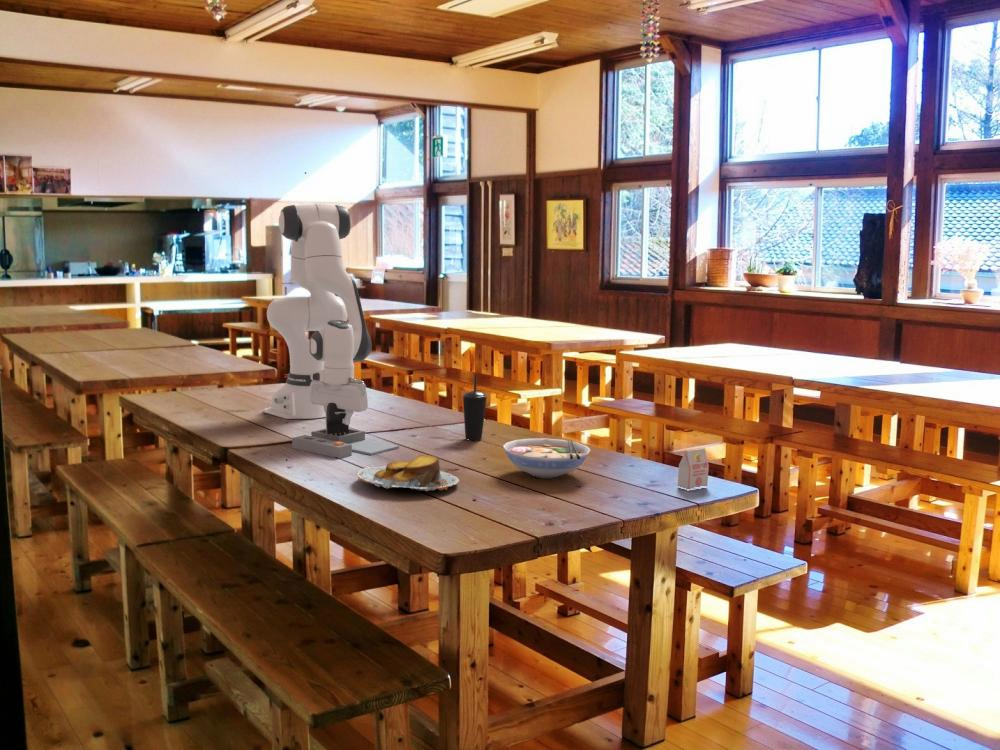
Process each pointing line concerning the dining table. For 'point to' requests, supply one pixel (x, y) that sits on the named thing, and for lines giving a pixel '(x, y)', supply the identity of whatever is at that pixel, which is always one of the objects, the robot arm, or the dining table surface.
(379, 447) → the slate mat
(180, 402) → the dining table surface
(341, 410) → the battery charger
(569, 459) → the ramen bowl
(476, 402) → the drinking cup
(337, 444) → the charging station
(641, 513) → the dining table surface
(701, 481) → the white milk carton
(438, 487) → the food on plate
